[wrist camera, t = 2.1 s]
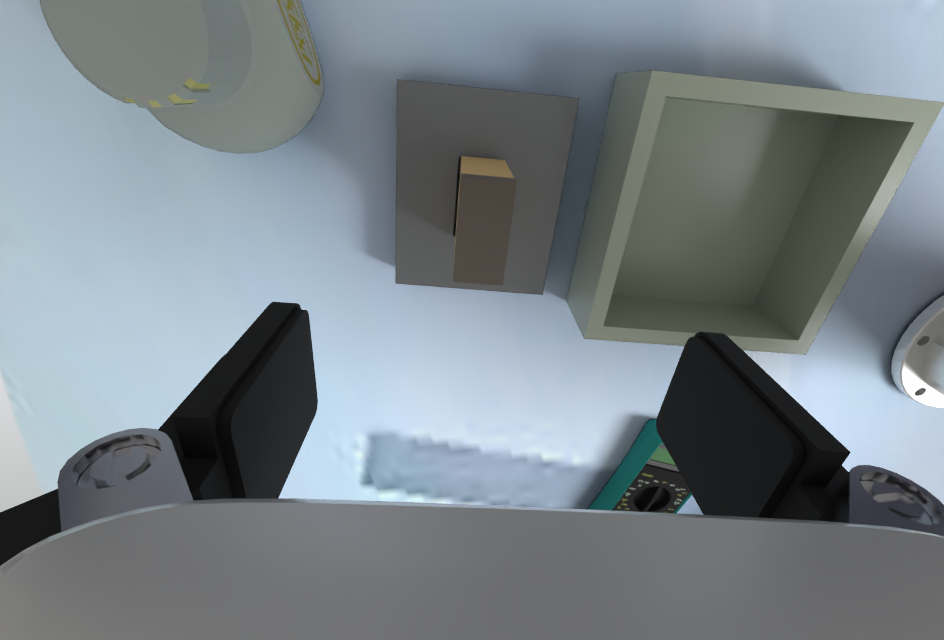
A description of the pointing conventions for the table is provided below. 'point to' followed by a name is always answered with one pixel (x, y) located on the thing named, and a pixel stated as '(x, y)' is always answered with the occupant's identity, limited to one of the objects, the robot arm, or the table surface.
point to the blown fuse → (483, 220)
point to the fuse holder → (438, 174)
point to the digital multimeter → (645, 479)
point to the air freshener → (199, 64)
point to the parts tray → (734, 207)
